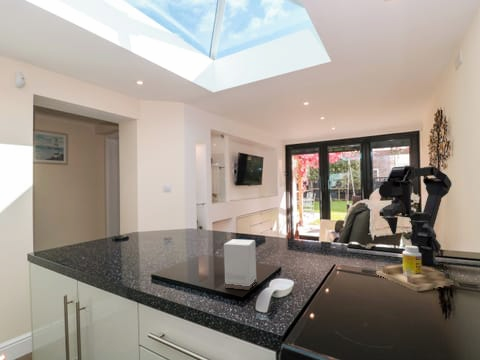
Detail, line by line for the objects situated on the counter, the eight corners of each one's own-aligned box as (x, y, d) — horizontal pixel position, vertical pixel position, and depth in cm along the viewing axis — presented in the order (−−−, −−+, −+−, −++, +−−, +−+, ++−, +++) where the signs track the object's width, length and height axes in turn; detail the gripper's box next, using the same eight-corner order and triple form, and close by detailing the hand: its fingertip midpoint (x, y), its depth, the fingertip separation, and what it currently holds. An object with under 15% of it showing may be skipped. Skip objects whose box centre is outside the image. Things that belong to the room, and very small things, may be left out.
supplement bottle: (417, 279, 86) (416, 249, 87) (400, 274, 91) (399, 246, 91) (424, 276, 89) (423, 246, 90) (407, 271, 94) (406, 244, 94)
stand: (409, 270, 100) (409, 261, 100) (453, 285, 85) (453, 274, 85) (376, 274, 96) (376, 265, 96) (416, 291, 80) (416, 280, 80)
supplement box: (257, 281, 91) (256, 239, 91) (249, 291, 83) (249, 245, 83) (233, 279, 94) (232, 238, 94) (224, 288, 86) (223, 243, 86)
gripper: (368, 197, 109) (369, 233, 109) (408, 198, 92) (409, 242, 91) (389, 196, 113) (390, 231, 112) (431, 198, 95) (432, 240, 94)
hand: (403, 236), depth 102 cm, fingers open, 9 cm apart
